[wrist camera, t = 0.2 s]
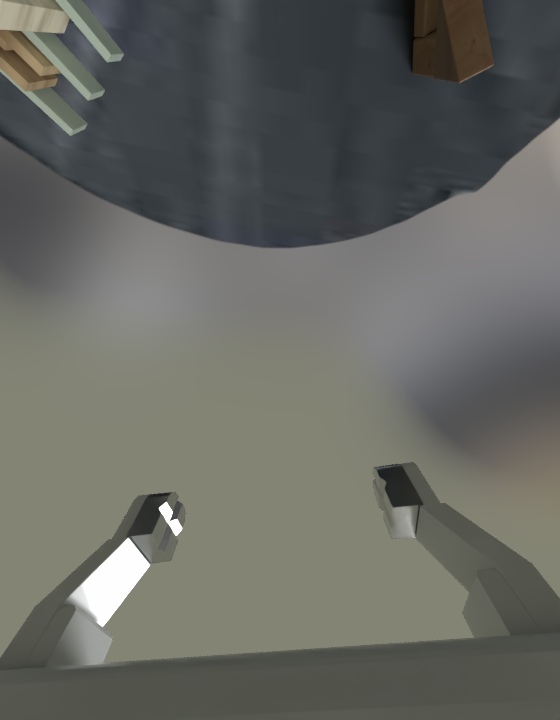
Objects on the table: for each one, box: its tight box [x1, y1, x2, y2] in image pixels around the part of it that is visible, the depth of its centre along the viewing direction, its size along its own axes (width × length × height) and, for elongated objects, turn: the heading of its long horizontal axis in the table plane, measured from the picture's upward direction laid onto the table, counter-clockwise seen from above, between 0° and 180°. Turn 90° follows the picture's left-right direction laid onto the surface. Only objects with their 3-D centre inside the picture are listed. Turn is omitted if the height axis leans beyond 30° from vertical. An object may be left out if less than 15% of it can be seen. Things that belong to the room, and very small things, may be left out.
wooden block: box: [412, 0, 494, 83], centre depth 27 cm, size 4×11×18 cm, turn 22°
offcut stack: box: [0, 30, 61, 92], centre depth 29 cm, size 10×4×8 cm, turn 37°
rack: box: [0, 0, 124, 136], centre depth 28 cm, size 19×13×5 cm, turn 37°
